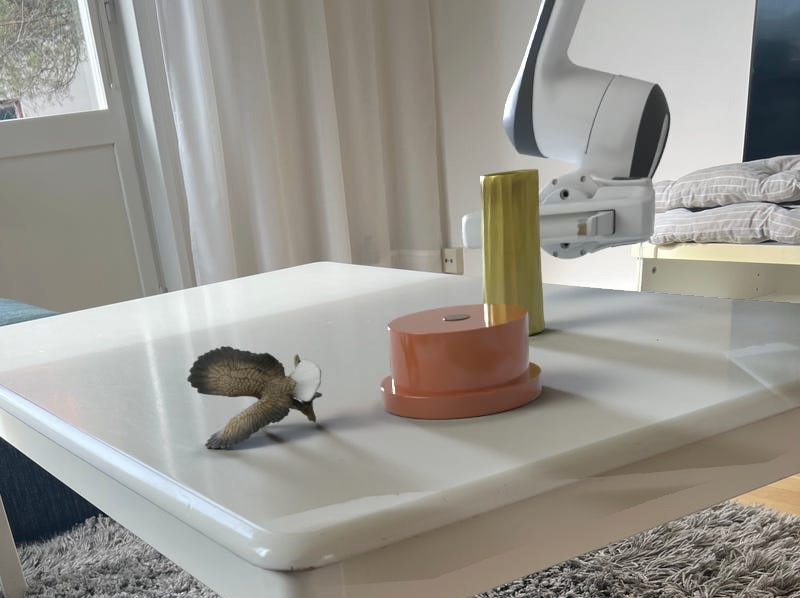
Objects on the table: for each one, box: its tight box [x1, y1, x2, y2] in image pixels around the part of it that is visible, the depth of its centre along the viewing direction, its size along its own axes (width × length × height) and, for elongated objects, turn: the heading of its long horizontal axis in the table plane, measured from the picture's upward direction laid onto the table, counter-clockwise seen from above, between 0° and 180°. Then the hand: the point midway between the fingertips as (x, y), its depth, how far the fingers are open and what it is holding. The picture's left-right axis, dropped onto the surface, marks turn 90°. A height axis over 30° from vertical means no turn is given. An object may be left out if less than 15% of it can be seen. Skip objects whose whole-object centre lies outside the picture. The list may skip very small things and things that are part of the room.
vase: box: [479, 168, 546, 336], centre depth 92 cm, size 6×6×14 cm
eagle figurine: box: [186, 345, 323, 449], centre depth 72 cm, size 8×7×9 cm
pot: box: [379, 303, 543, 420], centre depth 75 cm, size 12×12×6 cm
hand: (537, 232), depth 99 cm, fingers open, 8 cm apart
